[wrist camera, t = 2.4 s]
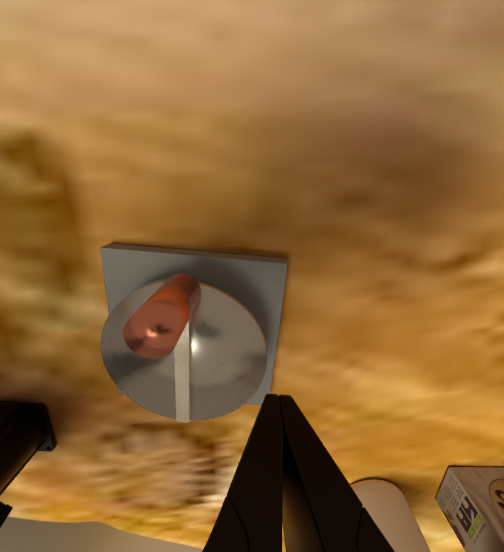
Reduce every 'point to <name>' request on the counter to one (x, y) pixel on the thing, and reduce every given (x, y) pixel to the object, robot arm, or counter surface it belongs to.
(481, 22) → the counter surface
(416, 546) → the milk bottle
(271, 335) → the base plate
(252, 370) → the handwheel
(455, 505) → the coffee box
